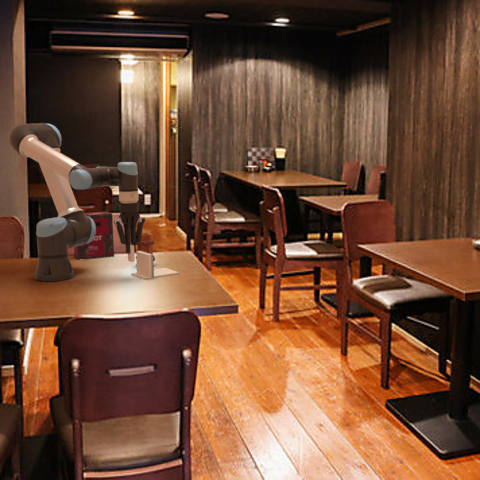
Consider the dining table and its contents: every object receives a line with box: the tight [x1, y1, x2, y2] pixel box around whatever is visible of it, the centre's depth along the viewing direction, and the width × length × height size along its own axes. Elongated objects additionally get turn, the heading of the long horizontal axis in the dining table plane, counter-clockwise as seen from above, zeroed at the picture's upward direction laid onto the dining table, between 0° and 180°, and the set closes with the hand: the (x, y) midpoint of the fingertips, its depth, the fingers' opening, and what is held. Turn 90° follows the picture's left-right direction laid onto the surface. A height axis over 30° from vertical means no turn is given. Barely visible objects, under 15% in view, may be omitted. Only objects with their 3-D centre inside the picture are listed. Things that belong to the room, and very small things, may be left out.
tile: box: [135, 250, 155, 277], centre depth 266 cm, size 10×2×9 cm, turn 38°
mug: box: [136, 228, 156, 262], centre depth 287 cm, size 15×8×15 cm, turn 14°
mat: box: [130, 267, 180, 281], centre depth 271 cm, size 11×16×1 cm
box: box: [73, 211, 115, 261], centre depth 305 cm, size 16×9×20 cm, turn 115°
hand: (131, 261), depth 263 cm, fingers closed
